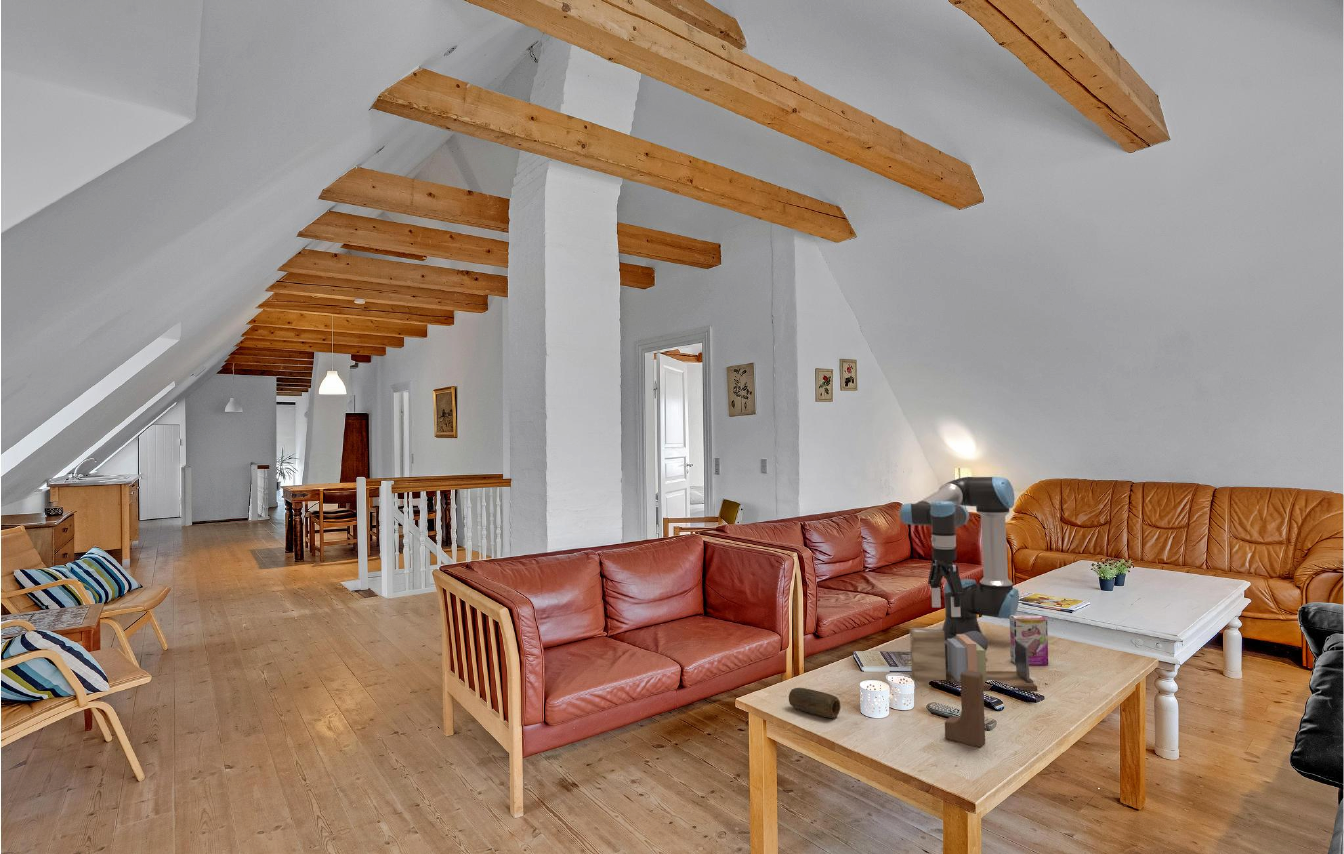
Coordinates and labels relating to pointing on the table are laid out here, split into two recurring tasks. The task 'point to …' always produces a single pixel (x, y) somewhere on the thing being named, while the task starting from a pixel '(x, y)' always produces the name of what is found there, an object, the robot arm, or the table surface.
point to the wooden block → (969, 712)
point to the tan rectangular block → (927, 653)
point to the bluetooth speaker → (974, 637)
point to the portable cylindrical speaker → (815, 702)
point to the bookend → (1022, 662)
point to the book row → (965, 656)
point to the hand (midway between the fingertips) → (945, 611)
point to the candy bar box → (1030, 637)
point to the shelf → (1001, 680)
